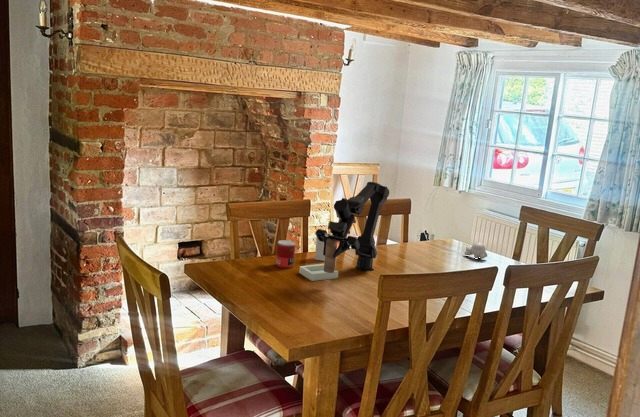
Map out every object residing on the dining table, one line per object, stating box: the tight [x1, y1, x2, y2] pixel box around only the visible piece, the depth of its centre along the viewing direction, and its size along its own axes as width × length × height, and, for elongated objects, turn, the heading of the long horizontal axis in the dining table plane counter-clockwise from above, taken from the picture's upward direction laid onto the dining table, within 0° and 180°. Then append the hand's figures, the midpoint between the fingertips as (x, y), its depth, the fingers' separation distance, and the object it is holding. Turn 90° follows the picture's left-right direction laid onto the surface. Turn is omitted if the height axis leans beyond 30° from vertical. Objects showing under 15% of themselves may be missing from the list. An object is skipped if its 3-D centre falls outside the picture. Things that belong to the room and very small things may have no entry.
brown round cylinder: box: [323, 239, 338, 273], centre depth 235 cm, size 4×4×13 cm
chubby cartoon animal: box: [463, 242, 488, 260], centre depth 300 cm, size 7×12×8 cm, turn 49°
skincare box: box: [314, 237, 325, 262], centre depth 273 cm, size 6×4×12 cm
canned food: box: [275, 239, 296, 269], centre depth 259 cm, size 8×8×11 cm
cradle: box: [298, 263, 340, 282], centre depth 250 cm, size 13×11×3 cm
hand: (328, 256), depth 233 cm, fingers closed on brown round cylinder, 4 cm apart
